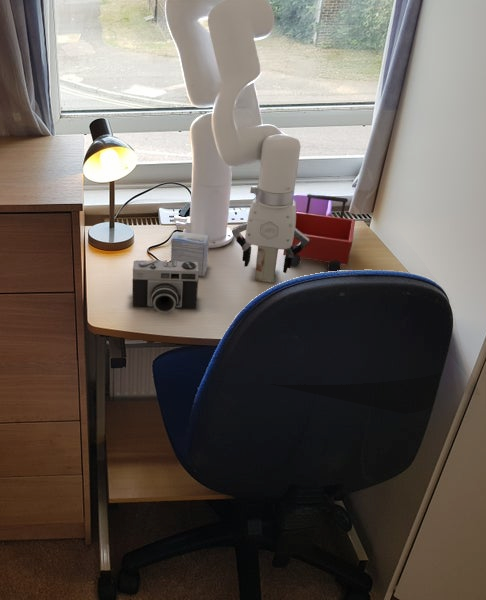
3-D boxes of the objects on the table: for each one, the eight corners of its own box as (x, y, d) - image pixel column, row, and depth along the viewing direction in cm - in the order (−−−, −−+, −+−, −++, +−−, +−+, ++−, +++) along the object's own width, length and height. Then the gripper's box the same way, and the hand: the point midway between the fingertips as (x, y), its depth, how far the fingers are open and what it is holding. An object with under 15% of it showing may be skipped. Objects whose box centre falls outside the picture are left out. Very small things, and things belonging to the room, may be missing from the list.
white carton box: (256, 269, 147) (260, 230, 142) (275, 272, 146) (280, 233, 140) (253, 280, 143) (258, 241, 137) (273, 283, 142) (278, 243, 136)
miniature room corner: (332, 220, 168) (336, 196, 164) (330, 240, 159) (335, 215, 155) (286, 214, 171) (289, 191, 168) (281, 234, 162) (285, 209, 158)
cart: (281, 264, 149) (288, 215, 142) (289, 237, 160) (296, 191, 153) (345, 274, 144) (356, 224, 137) (349, 246, 156) (359, 198, 149)
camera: (126, 315, 132) (127, 272, 127) (135, 293, 140) (135, 253, 134) (193, 323, 129) (196, 280, 124) (198, 300, 137) (201, 259, 132)
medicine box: (207, 268, 148) (210, 235, 143) (203, 277, 144) (205, 243, 140) (174, 263, 150) (176, 230, 146) (170, 272, 147) (171, 239, 142)
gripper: (230, 196, 133) (224, 268, 143) (315, 207, 128) (303, 281, 137) (237, 183, 139) (231, 253, 149) (319, 193, 134) (307, 265, 143)
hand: (266, 266), depth 143 cm, fingers open, 8 cm apart
